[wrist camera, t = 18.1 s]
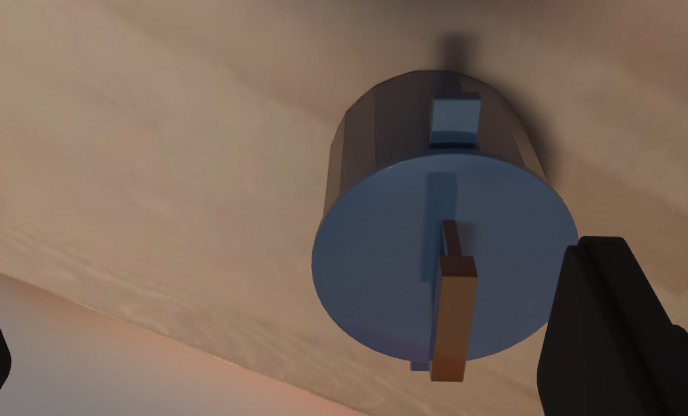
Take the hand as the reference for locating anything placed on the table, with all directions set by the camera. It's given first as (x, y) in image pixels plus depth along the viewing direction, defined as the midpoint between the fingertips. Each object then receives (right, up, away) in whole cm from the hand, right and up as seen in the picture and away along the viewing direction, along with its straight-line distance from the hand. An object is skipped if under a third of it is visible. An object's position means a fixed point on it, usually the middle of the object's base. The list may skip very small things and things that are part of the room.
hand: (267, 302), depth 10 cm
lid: (+7, -2, +26) cm, 27 cm away
